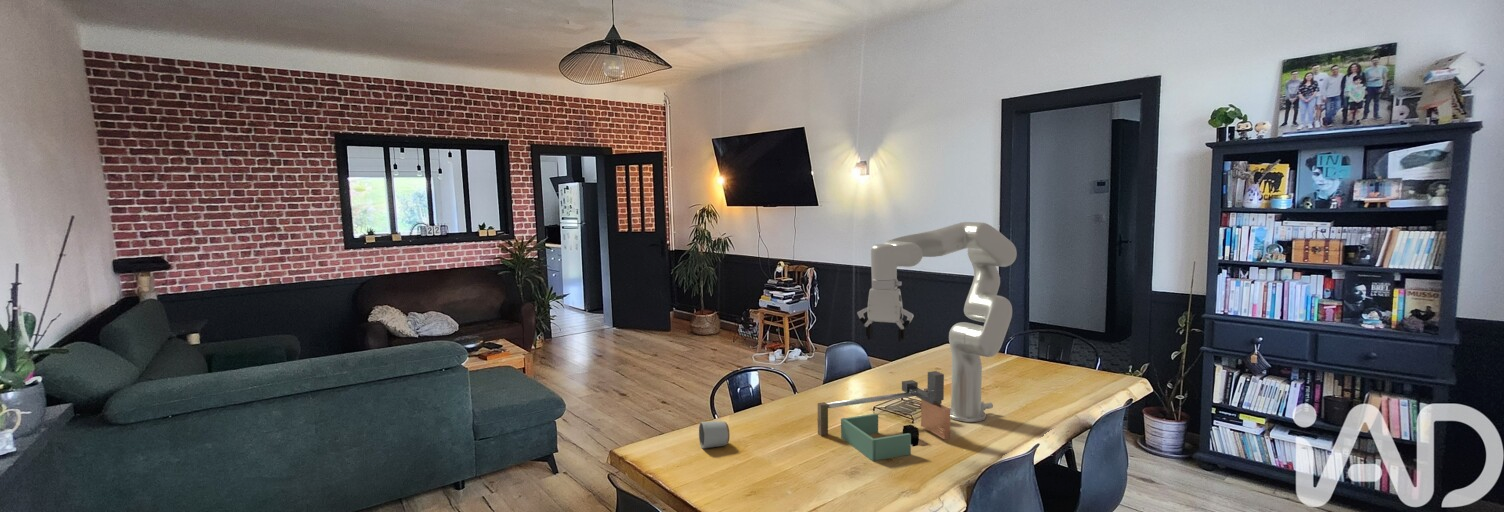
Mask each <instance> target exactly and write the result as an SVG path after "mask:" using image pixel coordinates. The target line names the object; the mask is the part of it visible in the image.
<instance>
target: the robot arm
mask: <svg viewBox="0 0 1504 512" xmlns="http://www.w3.org/2000/svg"><path fill="white" fill-rule="evenodd" d="M965 249H967V255H968V259H969V261H970V262H971V266H972V268H973V274H974V275H973V280H972V283H971V286H970V289H969V291H968V294H967V296H966V300H965V302H964V306H963V313H964V316H965V317H967V318H968V319H970V320H972V321H976V322H980V323H984V324H983V325H979V324H976V323H971V322H966V321H964V322H963V321H961V322H956V323H955V324H954V325H952V327H951V328H950V329H949V332H948V341H949V349H950V352H951V354H950V356H951V389H950V391H951V395H950V396H951V397H950V404H951V406H950V407H948V408H949V409H950V419H951V420H955V421H958V422H965V423H977V422H982V421H984V420H985V419H986V417H987V414H986V412H985V411H986V410H988V409H992V408H994V404H993V403H992V402H987V403H985V402H984V401H982V386H983V385H982V384H983V383H982V379H983V375H982V372H983V370H982V369H983V368H982V367H983V366H982V361H981V357H984V358H993V357H994V356H996V355H997V354H998V353H999V352H1000V350H1001V348H1002V345H1003V343H1004V340H1005V338H1006V335H1007V332H1008V330H1009V326H1010V323H1011V320H1012V318H1013V306H1012V303H1011V301H1010V300H1009V299H1008V298H1006V297H1004V296H1002V295H998V292H999V288H1000V285H1001V277H1000V274H999V271H998V268H997V267H1001V268H1002V267H1003V268H1006V267H1009V266H1011V265H1012V264H1014V262H1015V261H1016V259H1017V256H1018V255H1017V254H1018V253H1017V248H1016V246H1015V244H1014V243H1013V242H1012V240H1010V239H1008V238H1007V237H1006V236H1005V235H1004V234H1003V233H1002V232H1000V231H999V230H998V229H996V228H995V227H993V226H992V225H990V224H988V223H986V222H977V221H974V222H972V221H963V222H958V223H954V224H952V225H948V226H944V227H940V228H937V229H933V230H928V231H923V232H918V233H913V234H908V235H903V236H899V237H895V238H892V239H888V240H886V241H885V242H883V243H879V244H873V245H872V247H871V249H870V265H871V267H870V268H871V269H870V270H871V271H870V272H871V287H870V289H869V292H868V297H867V299H868V300H867V307H864V308H862V309H861V310H859V311H857V312H856V314H857V316H858V318H859V321H860V322H861V323H862V324H863V326H864V327H865V336H866V337H867V340H869V341H870V340H872V339H873V338H874V337H873V335H874V333H873V332H874V331H873V327H874V326H873V325H872V324H873V322H877V323H890V324H891V323H893V324H896V325H897V326H898V327H899V328H898V330H897V331H898V335H897V336H898V338H897V339H898V342H899V343H902V342H903V341H904V340H905V339H906V327H908V326H909V324H910V323H911V322H912V320H913V318H914V317H915V316H914V313H912V312H910V311H908V310H907V309H904V308H903V299H902V294H901V293H902V292H901V289H900V288H898V287H901V286H902V285H903V284H902V283H903V282H902V281H899V280H898V278H897V277H898V271H897V269H898V267H903V268H909V267H910V268H911V267H915V266H917V265H919V264H920V262H921V261H922V259H923V258H936V257H943V256H947V255H950V254H952V253H955V252H958V251H962V250H965ZM865 313H867V318H866V317H865V315H864V314H865ZM904 316H905V317H906V320H905V321H904V320H903V318H904Z"/></svg>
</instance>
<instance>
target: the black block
mask: <svg viewBox="0 0 1504 512" xmlns="http://www.w3.org/2000/svg"><path fill="white" fill-rule="evenodd" d="M906 433H910V434H911V447H917V446H923V445H927V444H928V442H925V441H924V440H922V439H920V431H919V428H918V427H917V426H915V425H913V424H906V425H903V428H902V434H906Z"/></svg>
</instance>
